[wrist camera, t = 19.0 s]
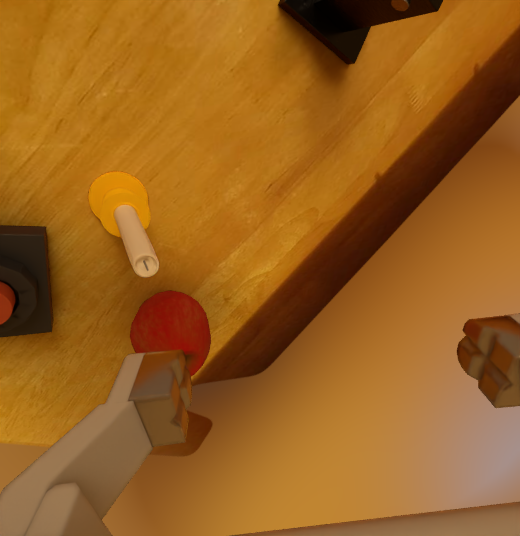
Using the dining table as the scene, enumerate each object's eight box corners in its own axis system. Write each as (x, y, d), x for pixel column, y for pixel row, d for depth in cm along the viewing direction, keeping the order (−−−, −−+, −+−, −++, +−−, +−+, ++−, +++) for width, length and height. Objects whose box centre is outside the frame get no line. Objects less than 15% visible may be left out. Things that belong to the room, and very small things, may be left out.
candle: (78, 178, 28) (79, 245, 16) (137, 165, 29) (180, 215, 17) (101, 231, 30) (118, 322, 18) (154, 216, 32) (201, 290, 20)
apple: (110, 321, 35) (120, 392, 27) (157, 266, 35) (182, 320, 26) (167, 346, 40) (191, 412, 32) (209, 297, 40) (244, 351, 32)
